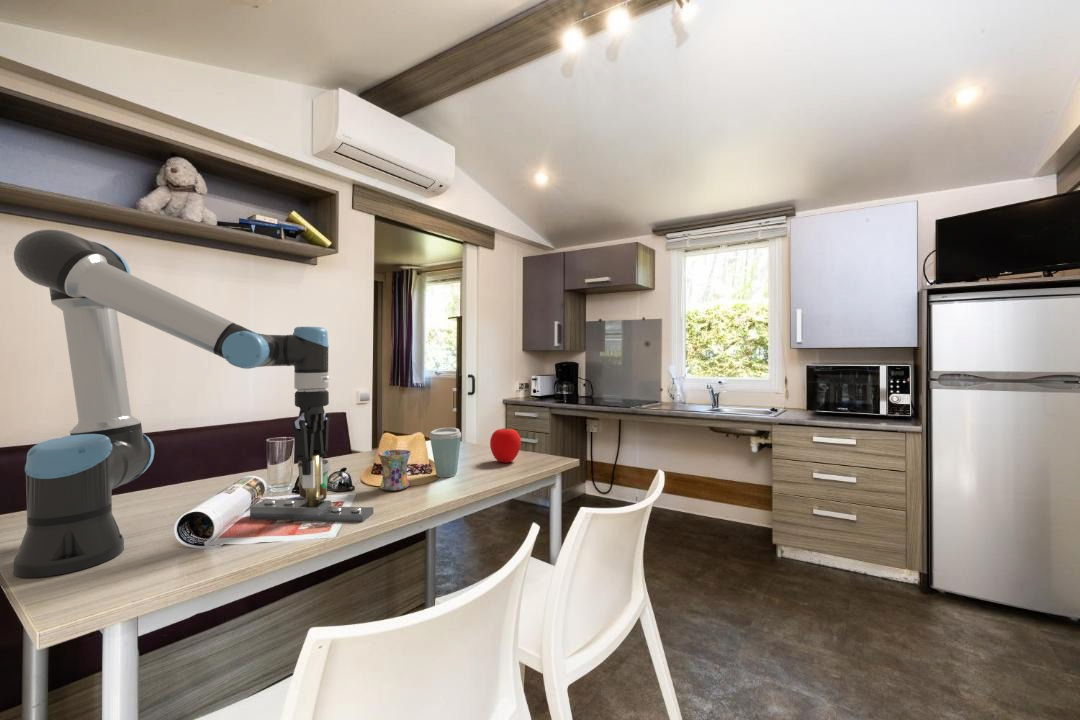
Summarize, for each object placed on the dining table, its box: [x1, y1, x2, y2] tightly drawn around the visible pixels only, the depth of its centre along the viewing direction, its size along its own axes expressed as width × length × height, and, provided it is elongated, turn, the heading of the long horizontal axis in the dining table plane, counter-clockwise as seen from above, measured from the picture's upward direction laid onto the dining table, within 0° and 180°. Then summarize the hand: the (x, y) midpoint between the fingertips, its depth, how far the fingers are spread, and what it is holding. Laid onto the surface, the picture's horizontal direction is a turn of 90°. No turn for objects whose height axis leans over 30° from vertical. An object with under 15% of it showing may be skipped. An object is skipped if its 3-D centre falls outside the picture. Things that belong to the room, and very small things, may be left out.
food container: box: [297, 458, 332, 500], centre depth 132 cm, size 12×6×10 cm, turn 47°
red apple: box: [489, 426, 522, 464], centre depth 174 cm, size 11×11×13 cm
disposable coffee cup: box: [428, 427, 462, 478], centre depth 156 cm, size 11×11×15 cm
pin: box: [305, 454, 320, 506], centre depth 116 cm, size 3×3×12 cm
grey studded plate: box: [249, 498, 374, 523], centre depth 116 cm, size 28×6×4 cm, turn 86°
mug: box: [377, 449, 412, 492], centre depth 141 cm, size 12×9×11 cm
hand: (312, 485), depth 116 cm, fingers closed on pin, 3 cm apart
